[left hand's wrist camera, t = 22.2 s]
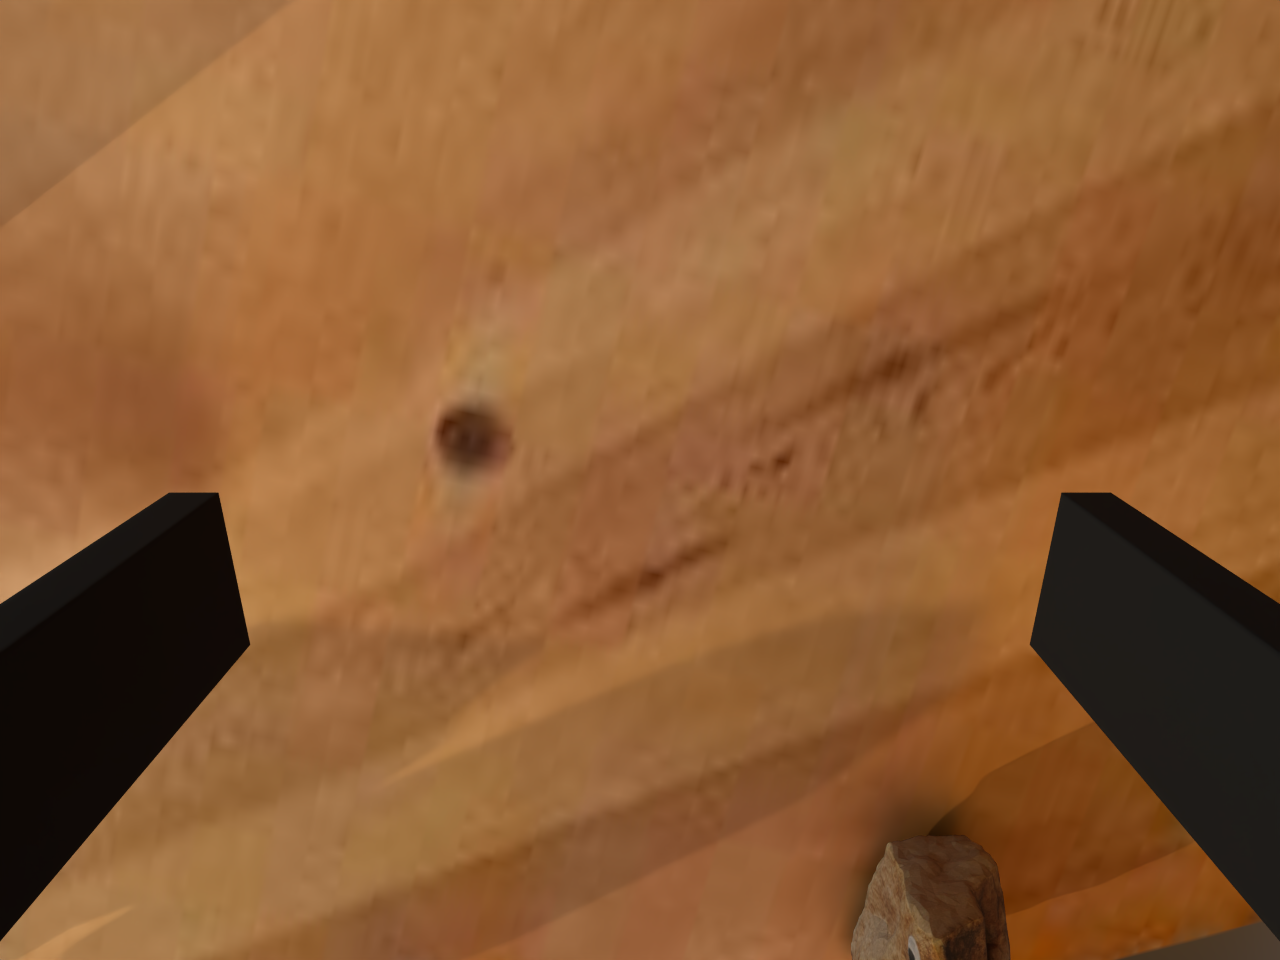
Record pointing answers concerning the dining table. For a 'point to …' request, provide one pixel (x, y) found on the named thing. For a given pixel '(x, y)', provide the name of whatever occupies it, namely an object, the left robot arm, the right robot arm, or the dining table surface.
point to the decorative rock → (933, 904)
